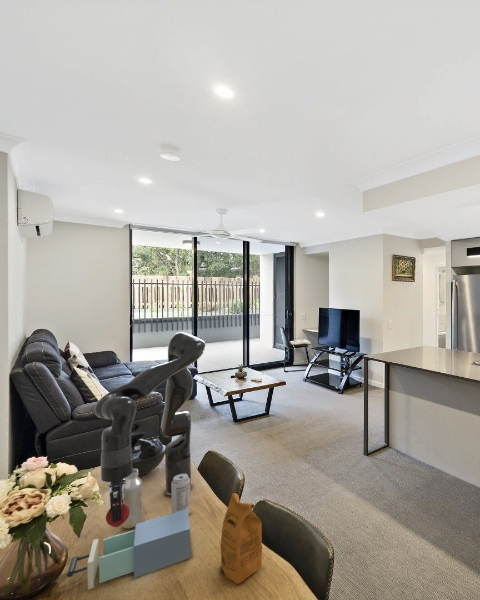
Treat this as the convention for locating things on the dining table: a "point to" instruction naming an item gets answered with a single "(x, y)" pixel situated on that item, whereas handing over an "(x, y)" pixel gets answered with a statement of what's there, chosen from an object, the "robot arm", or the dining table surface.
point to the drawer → (108, 558)
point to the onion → (124, 516)
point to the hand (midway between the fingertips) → (117, 515)
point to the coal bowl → (146, 453)
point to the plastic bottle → (133, 499)
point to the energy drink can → (180, 493)
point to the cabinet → (161, 542)
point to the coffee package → (240, 541)
